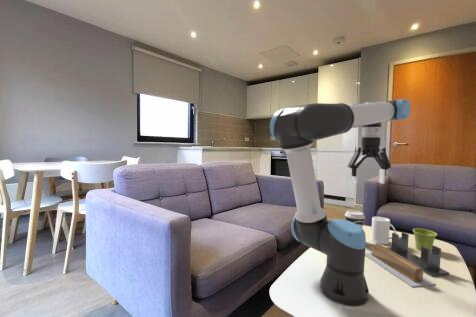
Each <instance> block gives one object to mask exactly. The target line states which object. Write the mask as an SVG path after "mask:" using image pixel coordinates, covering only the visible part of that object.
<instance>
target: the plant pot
mask: <svg viewBox="0 0 476 317" xmlns="http://www.w3.org/2000/svg"><path fill="white" fill-rule="evenodd" d="M412 232H413V235H414V244H415V248H416V249H417V250H419V251H421V246H424V247H426V248H428V249H430V251H432V246H433V245H434V242H435V239H436V237H437V236H438V234H437V232H435V231H432V230H429V229H425V228H413V229H412Z"/></svg>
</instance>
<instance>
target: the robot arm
mask: <svg viewBox="0 0 476 317" xmlns="http://www.w3.org/2000/svg"><path fill="white" fill-rule="evenodd" d="M410 114H411V102H410V101H409V100H408V99H407V98H406V99H405V98H401V99H399V98H398V99H393V100H383V101H369V102H364V103H352V104H350V105H348V104H347V103H343V102H340V103H339V102H338V103H318V102H317V103H315V102H314V103H313V102H312V103H307V104H303V105H302V104H301V105H295V106H287V107H284V108H281V109H278V110H277V111H276V112H275V113H273V116H272V118H271V119H270V123H269V131H270V134H271V136H272V137H273V139H274V140H276V141H278V143H279V146H280V149H281V151H284V152H285V155H286V159H287V164H288V170H289V176H290V179H291V185H292V190H293V193H294V199H295V200H294V201H295V204H296V210H297V211H296V212H295V214H294V216H293V218H292V220H291V224H290V228H291V229H290V231H291V234H292V236H293V238H294V239H295V240H296V241H297V242H300V243H301V244H302V245H304V246H307V247H309V248H311V249H313V250H315V251H318V252H320V253H321V254H323V255H326V265H325V268H324V270H323V273H322V276H321V277H320V283H319V284H320V285H319V288H320V290H321V292H322V294H323V295H324V296H326V297H327V298H328V299H330V300H332V301H334V302H336V303H338V304H342V305H345V306H351V307H353V306H354V307H355V306H356V307H358V306H363V305H365V304H367V303H368V301H369V299H370V298H369V297H370V290H369V287H368V283H367V280H366V277H365V258H366V256H365V253H366V247H367V242H366V239H367V238H366V232H365V230H364V229H363V227H362V228H361V227H360V226H359V225H357V224H355V223H353V222H350V221H347V220H346V219H345V220H344V219H341V218H332V219H329V220H328V216H327V212H326V210H325V209H324V208H322V207H321V202H320V201H321V200H320V197H319V189H318V185H317V179H316V174H315V167H314V163H313V162H314V161H313V157H312V156H313V155H312V151H311V148H312V145H314V144H315V143H314V141H319V140H324V139H328V138H331V137H335V136H338V135H342V134H346V133H348V132H349V131H351V130H352V129H355V128H360V127H361V136H362V137H361V142H360V144H361V147H355V149H354V153H353V155H352V157H351V159H350V160H349V163H348V165H347V167H348V168H350V169H351V176H352V184H356V185H359V184H358V183H359V169H358V168H359V167H361V166H360V165H361V164H362V163H363V162H364V161H365V160H366V159H368V158H373V159H374V160H375V161H376V163H377V164H378V166H379V167H380V168H379V174H378V183H379V184H382V185H385V182H386V177H387V170H389V169H391V167H392V166H391V162H390V159H389V157H388V155H387V152H386V151H387V149H386V148H385V147H380V146H381V139H382V138H381V135H382V123H384V122H390V121H400V120H401V121H402V120H406V119H408V118H409V116H410Z"/></svg>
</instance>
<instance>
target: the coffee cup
mask: <svg viewBox="0 0 476 317" xmlns="http://www.w3.org/2000/svg"><path fill="white" fill-rule="evenodd" d="M344 216H345V220H347V221H350V222H353V223H355V224H357V225H359V226H360V227H361V228H362V229H363V227H364V219H366V217H365V214H364V213H363V212H362V211H358V210H354V209H353V210H346V212H345V213H344Z"/></svg>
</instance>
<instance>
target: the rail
mask: <svg viewBox="0 0 476 317" xmlns="http://www.w3.org/2000/svg"><path fill="white" fill-rule="evenodd" d="M371 253H372V255H373V256H374V257H376V258H377V259H379V260H381V261H382V262H384V263H385V264H387V265H388V266H390V267H391V268H393V269H395V270H396V271H398V272H399V273H401V274H402V275H404V276H405V277H407V278H409V279H410V280H412V281H413V282H422V281H423V277H424V272H423V268H422V267H420V266H418V265H416V264H415V263H413V262H411V261H409V260H407V259H406V258H404V257H402V256H400V255H398V254H397V253H395V252H393V251H391V250H389V249H387V248H386V246H384V245H383V244H378V243H372V244H371Z"/></svg>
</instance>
